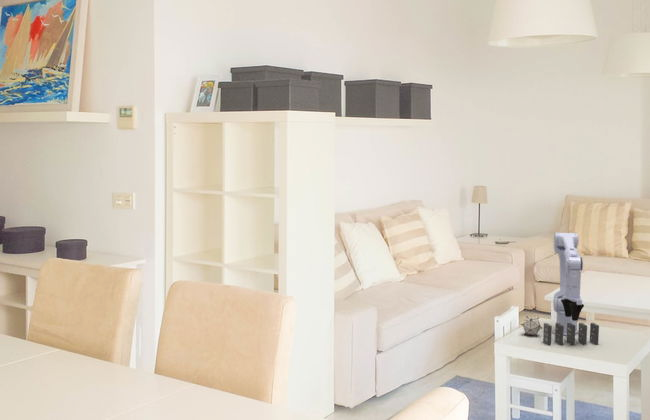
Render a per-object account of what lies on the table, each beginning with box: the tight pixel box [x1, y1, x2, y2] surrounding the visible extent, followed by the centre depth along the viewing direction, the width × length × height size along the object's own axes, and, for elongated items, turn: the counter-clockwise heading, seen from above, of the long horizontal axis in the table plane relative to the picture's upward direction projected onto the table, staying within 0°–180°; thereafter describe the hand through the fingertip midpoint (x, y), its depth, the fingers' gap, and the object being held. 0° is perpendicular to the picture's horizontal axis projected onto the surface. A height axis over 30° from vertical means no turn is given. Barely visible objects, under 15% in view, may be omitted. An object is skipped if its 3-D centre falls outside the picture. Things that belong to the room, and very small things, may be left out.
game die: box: [520, 315, 543, 337], centre depth 326 cm, size 9×8×10 cm
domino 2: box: [554, 322, 564, 346], centre depth 313 cm, size 1×5×8 cm, turn 5°
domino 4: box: [577, 322, 588, 346], centre depth 313 cm, size 1×5×8 cm, turn 5°
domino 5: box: [589, 322, 600, 346], centre depth 314 cm, size 1×5×8 cm, turn 5°
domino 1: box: [542, 322, 553, 346], centre depth 312 cm, size 1×5×8 cm, turn 5°
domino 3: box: [566, 323, 576, 346], centre depth 313 cm, size 1×5×8 cm, turn 5°
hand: (571, 318), depth 312 cm, fingers open, 6 cm apart
